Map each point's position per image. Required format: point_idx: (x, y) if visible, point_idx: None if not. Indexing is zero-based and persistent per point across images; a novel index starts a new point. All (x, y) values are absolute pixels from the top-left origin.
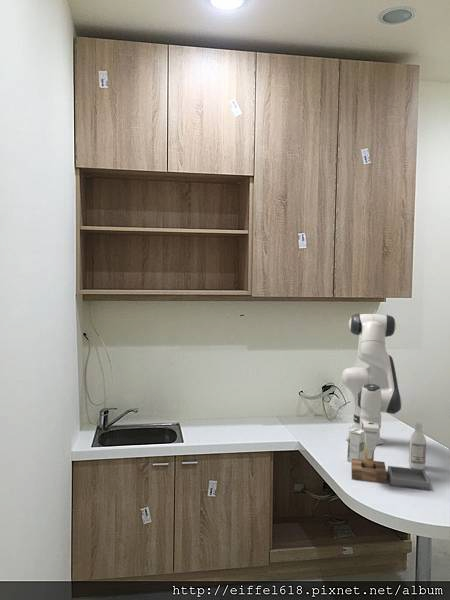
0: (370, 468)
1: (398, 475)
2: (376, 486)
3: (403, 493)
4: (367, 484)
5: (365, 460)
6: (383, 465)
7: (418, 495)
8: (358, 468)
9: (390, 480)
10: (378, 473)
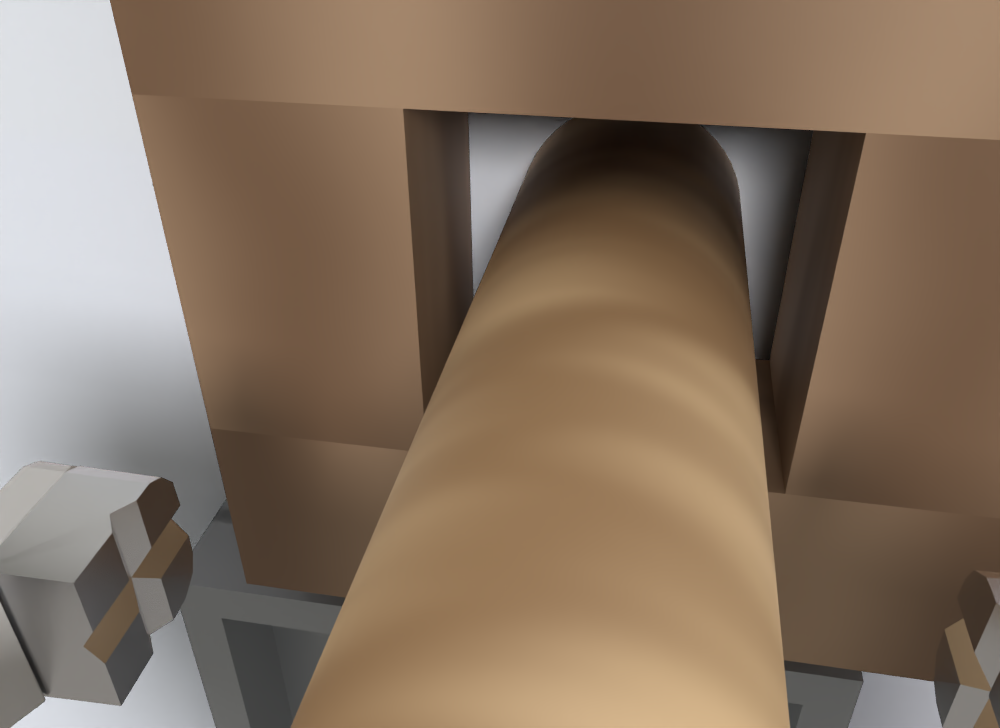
0: (411, 337)
1: None
2: (87, 288)
3: None
4: (86, 138)
5: (485, 315)
6: None
7: None
8: (267, 1)
9: None
10: (224, 447)
